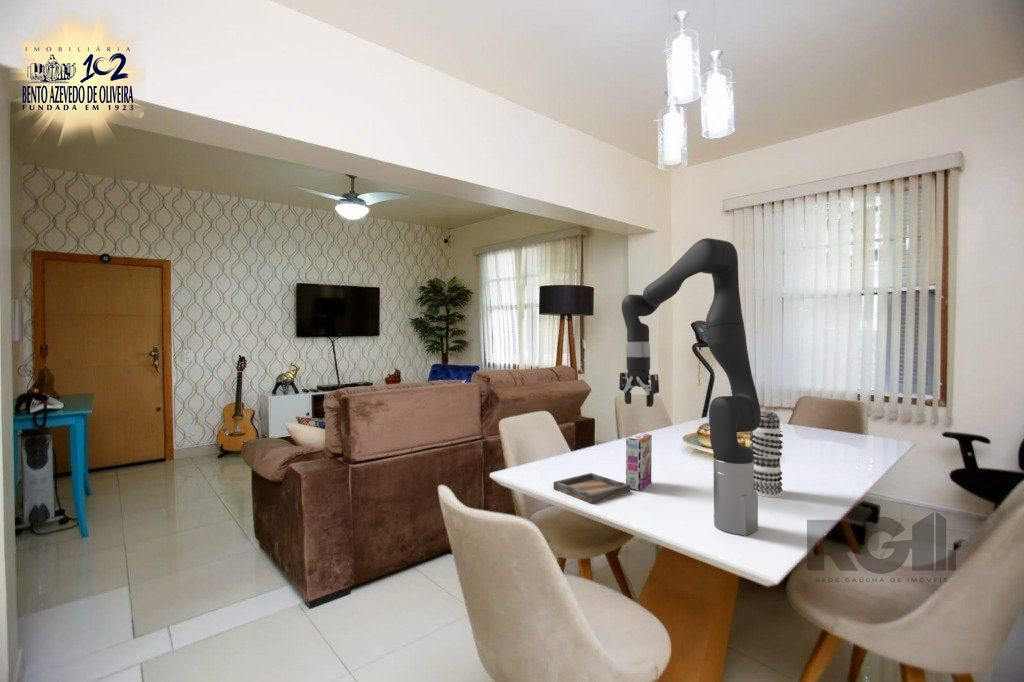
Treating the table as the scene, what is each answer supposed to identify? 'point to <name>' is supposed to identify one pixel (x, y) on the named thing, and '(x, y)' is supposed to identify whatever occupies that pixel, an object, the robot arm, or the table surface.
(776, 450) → the decorative candle
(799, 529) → the table surface
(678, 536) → the table surface
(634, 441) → the candy bar box
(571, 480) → the wooden tray
